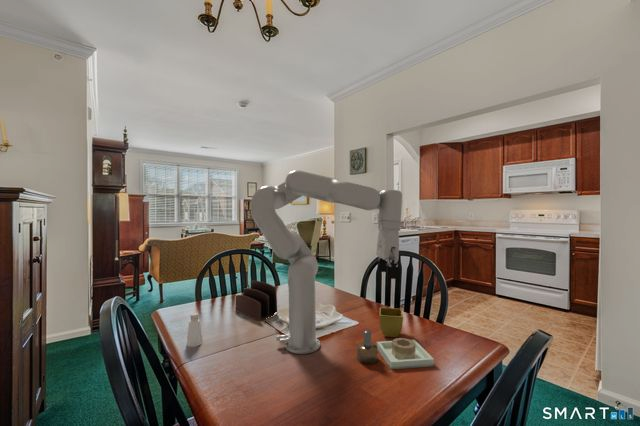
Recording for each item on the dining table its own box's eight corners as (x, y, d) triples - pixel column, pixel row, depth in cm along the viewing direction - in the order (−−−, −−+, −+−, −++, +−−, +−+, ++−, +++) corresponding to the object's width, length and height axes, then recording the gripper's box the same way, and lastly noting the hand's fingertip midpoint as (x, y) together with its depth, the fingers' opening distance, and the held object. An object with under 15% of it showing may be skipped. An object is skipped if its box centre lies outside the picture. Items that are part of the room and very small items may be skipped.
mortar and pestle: (360, 365, 94) (360, 336, 94) (355, 354, 101) (355, 328, 101) (380, 363, 95) (380, 335, 95) (373, 353, 102) (374, 327, 102)
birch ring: (397, 360, 96) (397, 348, 96) (389, 350, 103) (389, 338, 103) (418, 359, 97) (418, 347, 97) (408, 349, 104) (408, 337, 104)
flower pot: (403, 340, 112) (403, 316, 111) (379, 338, 113) (379, 315, 113) (401, 330, 120) (401, 308, 120) (379, 329, 122) (379, 307, 122)
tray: (391, 369, 92) (391, 362, 92) (376, 347, 106) (376, 341, 106) (434, 366, 94) (434, 359, 94) (414, 345, 108) (414, 339, 108)
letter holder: (252, 306, 151) (252, 278, 151) (277, 315, 138) (277, 285, 138) (235, 311, 144) (234, 282, 143) (260, 321, 130) (259, 289, 130)
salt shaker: (205, 342, 111) (205, 312, 110) (194, 348, 106) (193, 317, 105) (195, 339, 113) (194, 310, 113) (183, 345, 108) (182, 315, 108)
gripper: (371, 223, 111) (369, 269, 112) (387, 227, 94) (384, 281, 94) (391, 224, 112) (388, 269, 112) (409, 228, 95) (407, 281, 95)
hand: (386, 275), depth 103 cm, fingers open, 9 cm apart
